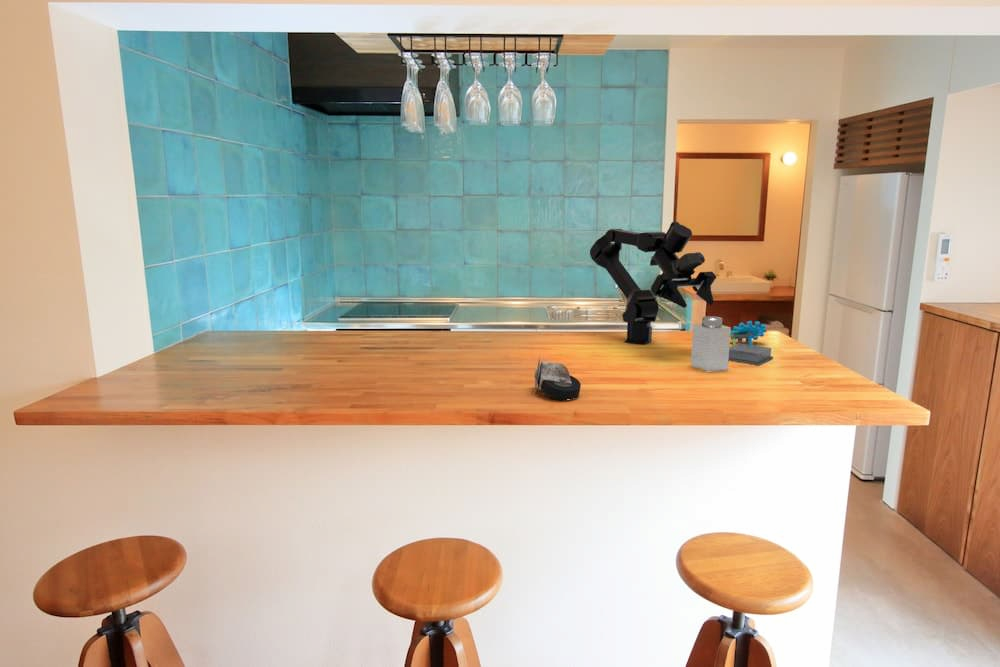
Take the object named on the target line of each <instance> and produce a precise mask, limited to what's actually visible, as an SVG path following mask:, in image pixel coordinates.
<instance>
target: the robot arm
mask: <svg viewBox="0 0 1000 667" xmlns="http://www.w3.org/2000/svg"><path fill="white" fill-rule="evenodd" d="M692 235H693V232H692V230H691V228H689V227H688V226H685V225H683V224H680V223H679V221H672V222H671V223H670V225H669V227H668V229H667V232H664V231H649V232H646V231H645V232H638V231H631V230H625V229H623V228H610V229H608V230H607V231H606V232H605V234H604V235H603V236H601V237H599V238H598V239H597V240H596V241H595V242H594V243H593V245H592V246H590V250H589V257H590V258H591V260H592V261H593V262H594V263H595V264H596V265H597V266H599V267H601V268H603V269H605V270H606V271H607V273H608V274H609V276H610V277H611V278H612V280H613V281H614V283H615V284H616V285H617V287H618V288H619V290H620V291H621V293H622V295H624V297H625V299H626V309H625V310H624V311H623V313H622V320H623V323H624V322H625V323H627V326H626V339H625V340H624V342H625V343H633V344H640V345H646V344H648V343H650V342H651V341H653V327H652V326H651V325H652V324H651V323H653V322H654V323H655V321H657V320H656V319H657V316H658V313H659V310H660V309H659V302H658V301H657V297H659V298H661V299H663V300H666V301H669V302H671V303H674V304H676V305H677V306H679V307H681V308H683V309H686V308H687V306H688V304H687V302H686V301H685V299H684V297H683V296H682V294H681V293H680V291H679V288H690V287H691V288H692V290H693V292H694V291H695V292H696V293H695V294H696V295H697V296H698V297H699V298H701V299H702V300H703V301H705V302H706V303H707V304H708V305H710V306H713V305H714V304H715V302H714V297H713V293H712V287H711V286H712V285H713V283H714V282H715V280H716V279H717V276H716V274H715V273H714V272H713V271H699V273H698V274H697V275H696V277H695V278H693V277H692V275H694V274H695V273H696V271H695V269H696V268H698V267H699V266H702V265H703V264H704V263H705V261H706V259H705V256H704V255H703V254H702V252H688V253H685V254H683V255H682V256H681V257H679V256H678V255H677V254H678V253H682V252H683V250H684V248H686V246H687V244H688V242H689V241H690V239H691V237H692ZM622 244H623V245H624V244H625V245H628V246H629V245H630V246H635V247H636V249H637V250H639V251H641V252H644V253H654V254H653V256H651V257H650V258H651V259H650V261H649V265H650V266H651V267H652V266H654V267H655V266H658V268H659V269H660V270H661V272H662V273H661V274H657V276H656V277H655V279H654V281H653V283H652V284H651V286H650V289H641V288H640V287H639V285H638V284H637V283H636V281H635V280H634V278H633V277H632V276H631V274H630V273H629V272H628V270H627V268H625V266H624V265H623V264H622V262H621V261H620V252H621V250H622Z"/></svg>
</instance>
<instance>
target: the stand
mask: <svg viewBox="0 0 1000 667" xmlns="http://www.w3.org/2000/svg"><path fill="white" fill-rule="evenodd" d="M771 355H772V347H767V346H761V345H755V344H753V345H749V343H748V344H747V343H742V342H741V343H740V342H738V343H736V344H735V345H733V344H732V345H729V359H728V360H731V361H730V362H734V361H737V362H736V363H740V362H743V363H742V364H746V363H749V364H748V365H752V364H755V365H754V366H758V365H759V366H761V365H763V364H765V363H768V362H769V361H771V360H773V359H774V356H771ZM760 364H761V365H760Z"/></svg>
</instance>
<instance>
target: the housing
mask: <svg viewBox="0 0 1000 667" xmlns="http://www.w3.org/2000/svg"><path fill="white" fill-rule="evenodd" d="M731 328H732V327H730V326H727V325H724V324H723V317H720V316H712V315H711V316H709V315H708V316H707V315H706V316H702V318H701V323H693V325H692V341H691V353H690V354H691V355H690V366H691V365H692V366H691V367H693V366H695V367H697V368H696V369H698V368H700V369H703V370H705V371H704V372H706V371H716V372H720V371H719V370H725V371H728V370H729V361H728V359H729V347H730V346H731V345H730V342H731V337H730V336H731V335H730V331H732V329H731ZM695 367H694V368H695ZM700 369H699V370H700ZM703 370H702V371H703Z"/></svg>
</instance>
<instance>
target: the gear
mask: <svg viewBox="0 0 1000 667" xmlns="http://www.w3.org/2000/svg"><path fill="white" fill-rule="evenodd" d="M732 329H733V330H731V331H730V340H732V345H733V344H737V343H736V342H743V339H745V342H746V341H748V345H754V343H753V340H754V341H758V340H759V337H762V338H763V337H764V336H765V333H767V327H766V324H764V323H761V322H760V321H754V325H753V321H752V320H748V321H746V324H744V322H740V323H739V324H738V326H737V325H736V326H735V325H734V326H733V328H732ZM736 340H737V341H736Z"/></svg>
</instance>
